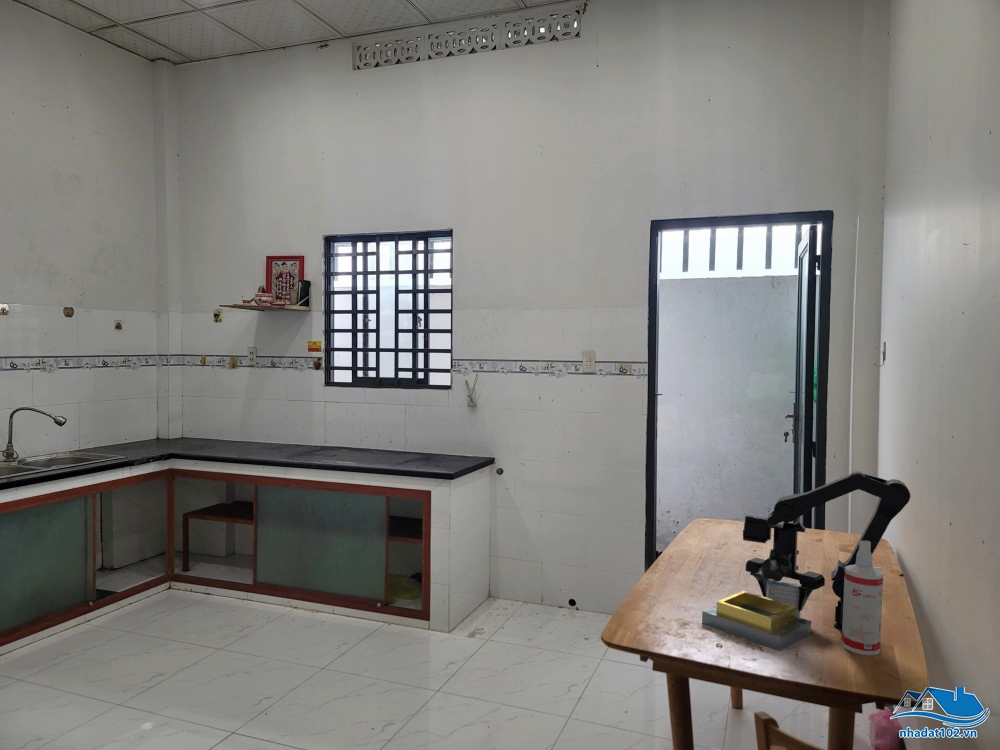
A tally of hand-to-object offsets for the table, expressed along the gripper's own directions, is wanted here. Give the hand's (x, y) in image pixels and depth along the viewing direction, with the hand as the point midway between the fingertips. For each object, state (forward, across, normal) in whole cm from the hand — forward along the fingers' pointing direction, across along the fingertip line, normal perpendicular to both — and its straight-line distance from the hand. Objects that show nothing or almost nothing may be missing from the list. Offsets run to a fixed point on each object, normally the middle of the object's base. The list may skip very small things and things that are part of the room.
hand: (782, 605), depth 173 cm
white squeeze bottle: (+3, +21, -5) cm, 22 cm away
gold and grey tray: (+2, 0, -14) cm, 14 cm away
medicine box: (+3, 0, 0) cm, 3 cm away
